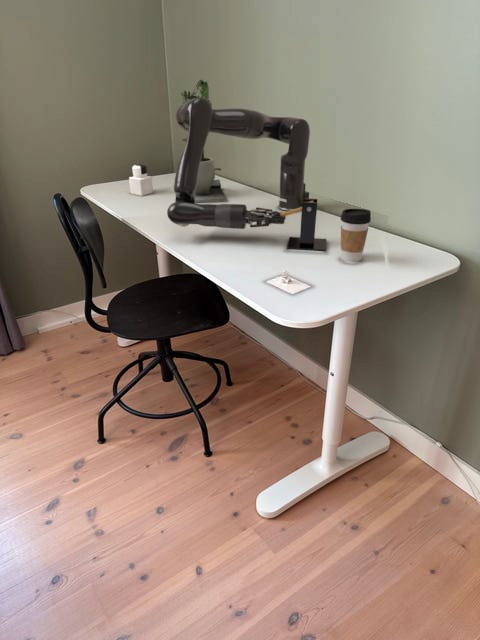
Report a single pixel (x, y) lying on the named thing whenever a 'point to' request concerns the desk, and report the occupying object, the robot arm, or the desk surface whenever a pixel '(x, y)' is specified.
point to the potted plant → (205, 163)
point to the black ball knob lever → (286, 212)
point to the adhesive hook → (288, 283)
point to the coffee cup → (354, 233)
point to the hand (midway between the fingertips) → (284, 218)
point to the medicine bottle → (140, 181)
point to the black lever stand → (307, 230)
